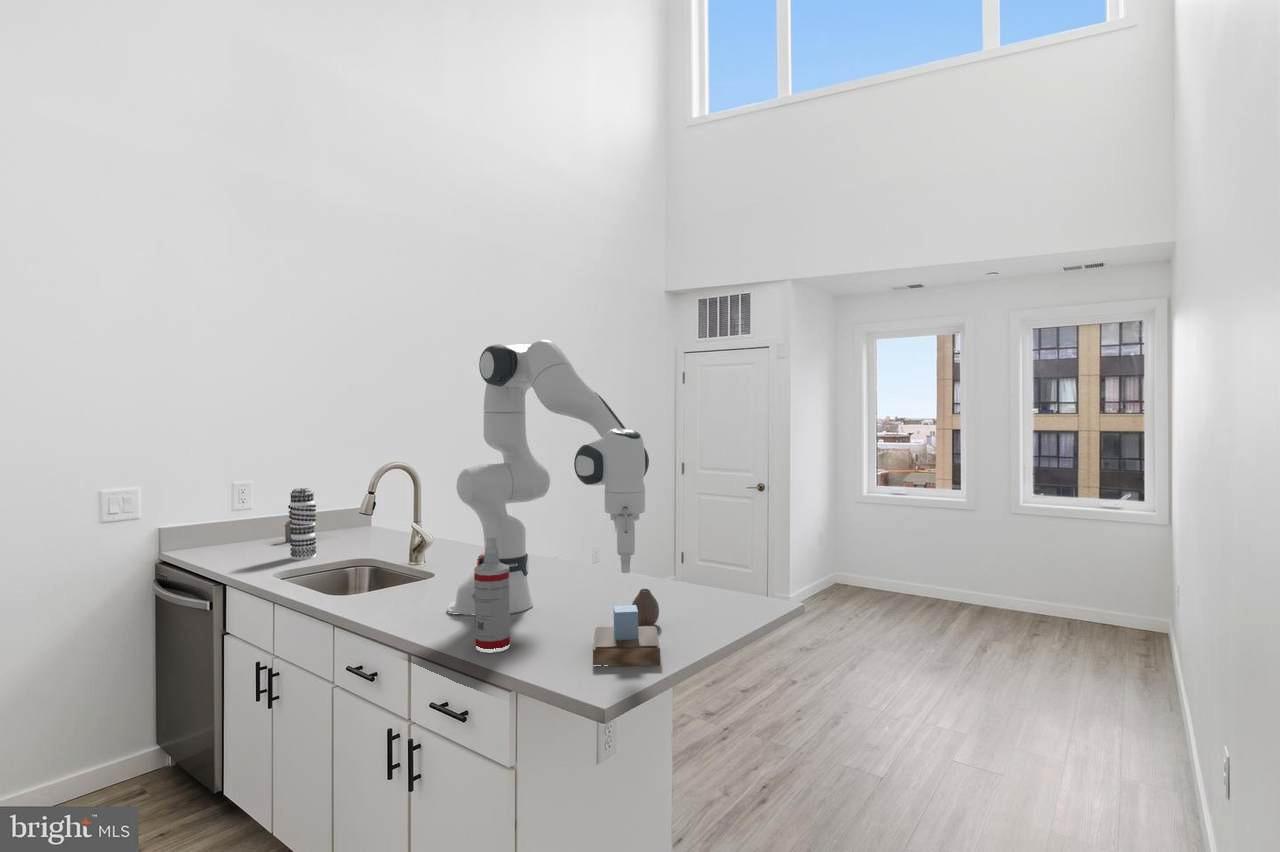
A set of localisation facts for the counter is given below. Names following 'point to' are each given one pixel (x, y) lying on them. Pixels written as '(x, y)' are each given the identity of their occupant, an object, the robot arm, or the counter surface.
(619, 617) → the slate block
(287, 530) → the architectural model on board
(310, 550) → the decorative candle
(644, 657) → the walnut plinth
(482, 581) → the nozzle bottle
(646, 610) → the vase
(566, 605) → the counter surface
